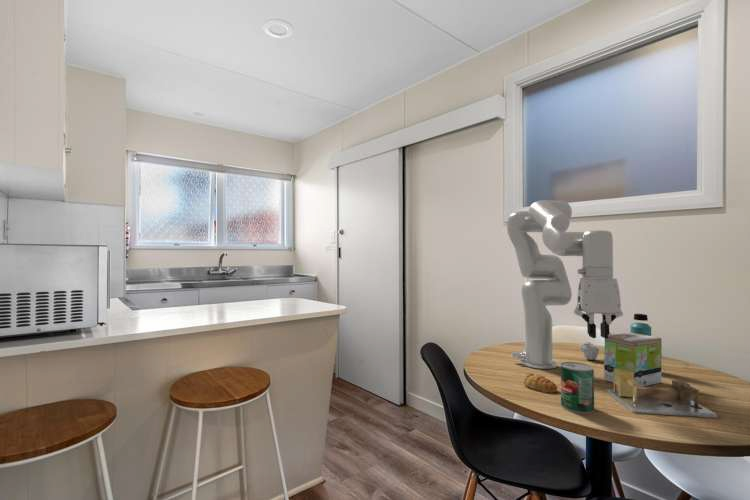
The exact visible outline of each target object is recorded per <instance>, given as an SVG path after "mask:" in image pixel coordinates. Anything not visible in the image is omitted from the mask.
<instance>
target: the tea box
mask: <svg viewBox="0 0 750 500" xmlns="http://www.w3.org/2000/svg"><path fill="white" fill-rule="evenodd" d="M662 343H663V342H662V337H658V336H652V335H651V336H647V335H641V334H636V333H631V332H624V333H617V334H609V335H608V339H605V338H604V356H603V358H604V359H603V360H604V362H603V363H604V364H603V365H604V369H603V370H604V372H603V379H604V381H606V382H610V383H613V384H614V368H621V369H629V370H630V371H632V372H634V381H636V382H638V386H641V387H648V386H650V385H651V386H652V385H655V384H660V383H662V358H663V357H662V346H663V345H662Z"/></svg>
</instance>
